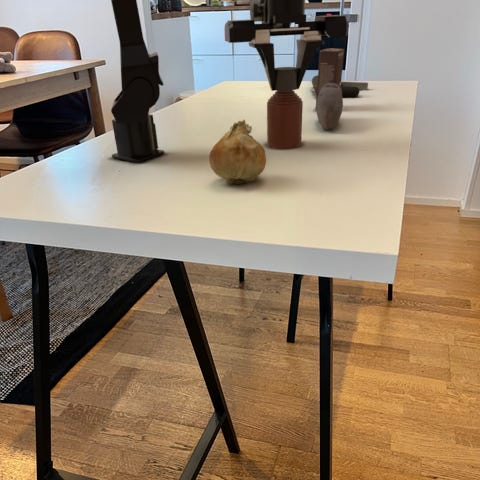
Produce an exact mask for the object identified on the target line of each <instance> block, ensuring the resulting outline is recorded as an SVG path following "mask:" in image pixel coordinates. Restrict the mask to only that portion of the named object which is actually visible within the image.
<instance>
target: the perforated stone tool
mask: <svg viewBox="0 0 480 480" xmlns="http://www.w3.org/2000/svg"><path fill="white" fill-rule="evenodd" d="M343 98H344V97H342V90H341V88H340V86H339V85H338V84H336V83H327V84H326V85H324V86H323V87H322V89H321V90H320V92H319V95H318V98H317V103H316V102H315V108H316V110H315V111H316V115H317V116H316V117H317V120H318V122H319V124H320V126H321V127H322V128H323V129H325V130H332V129H333V128H335V127H336V126H337V125H338V123H339V122H340V118H341V116H342V113H343V107H344V102H343V101H344V99H343Z"/></svg>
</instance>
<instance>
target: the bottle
mask: <svg viewBox="0 0 480 480" xmlns="http://www.w3.org/2000/svg"><path fill="white" fill-rule="evenodd" d="M303 102H304V101H303V100H302V98H301V97H300V95H298V94H297V92H296V91H295V90H292V91H274V93H273V94H272V95H271V96H270V98H268V99H267V102H266V144H267V145H266V146H267V147H269V148H271V149H275V150H276V149H278V150H289V149H296V148H298V147H301V145H302V135H303V133H302V132H303V108H304V107H303V104H304V103H303Z"/></svg>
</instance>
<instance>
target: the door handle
mask: <svg viewBox="0 0 480 480" xmlns="http://www.w3.org/2000/svg"><path fill="white" fill-rule="evenodd" d="M317 82H318V74H317V75H314V76H313V77H312V79H311V85H312V87H311V89H312V90H311V91H312V93H313V95H314V96H316V95H317ZM368 88H369V83H368V82H365V81H364V82H363V81H341V90H342V98H344V97H345V98H356V97H358V96H359V95H360V91H368Z"/></svg>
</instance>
